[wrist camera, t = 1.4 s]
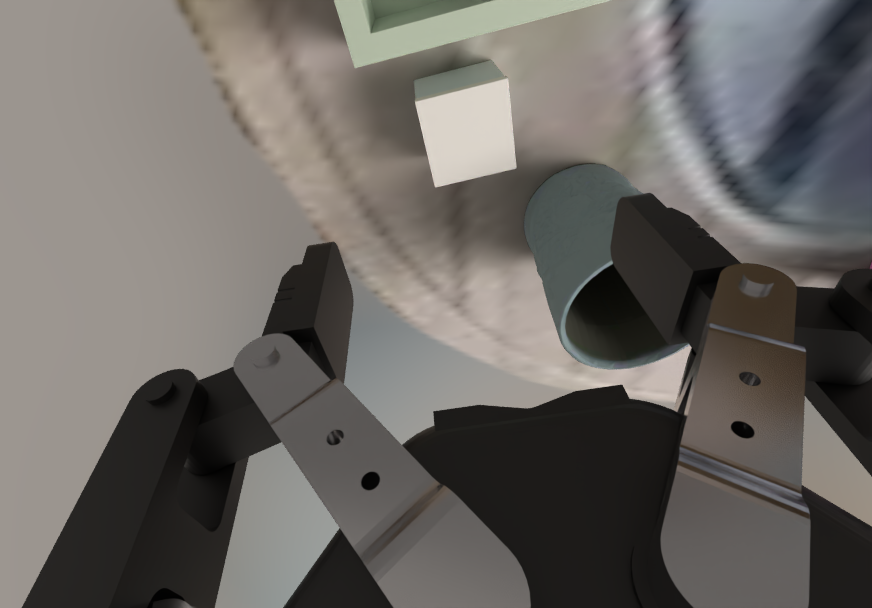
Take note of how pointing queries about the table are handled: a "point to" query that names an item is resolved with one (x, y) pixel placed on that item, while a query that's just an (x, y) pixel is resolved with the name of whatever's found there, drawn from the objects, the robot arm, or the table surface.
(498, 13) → the tote
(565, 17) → the table surface
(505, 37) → the table surface
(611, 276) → the teal cup
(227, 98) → the table surface
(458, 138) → the off-white carton
